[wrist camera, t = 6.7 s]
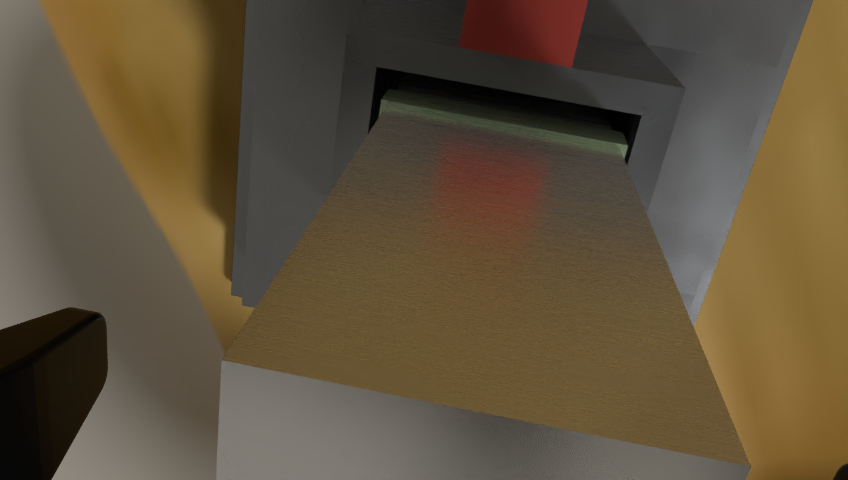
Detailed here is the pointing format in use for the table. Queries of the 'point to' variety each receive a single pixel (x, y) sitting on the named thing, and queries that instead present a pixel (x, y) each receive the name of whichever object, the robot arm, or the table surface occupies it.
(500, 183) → the column
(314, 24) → the jack stand base
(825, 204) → the table surface
